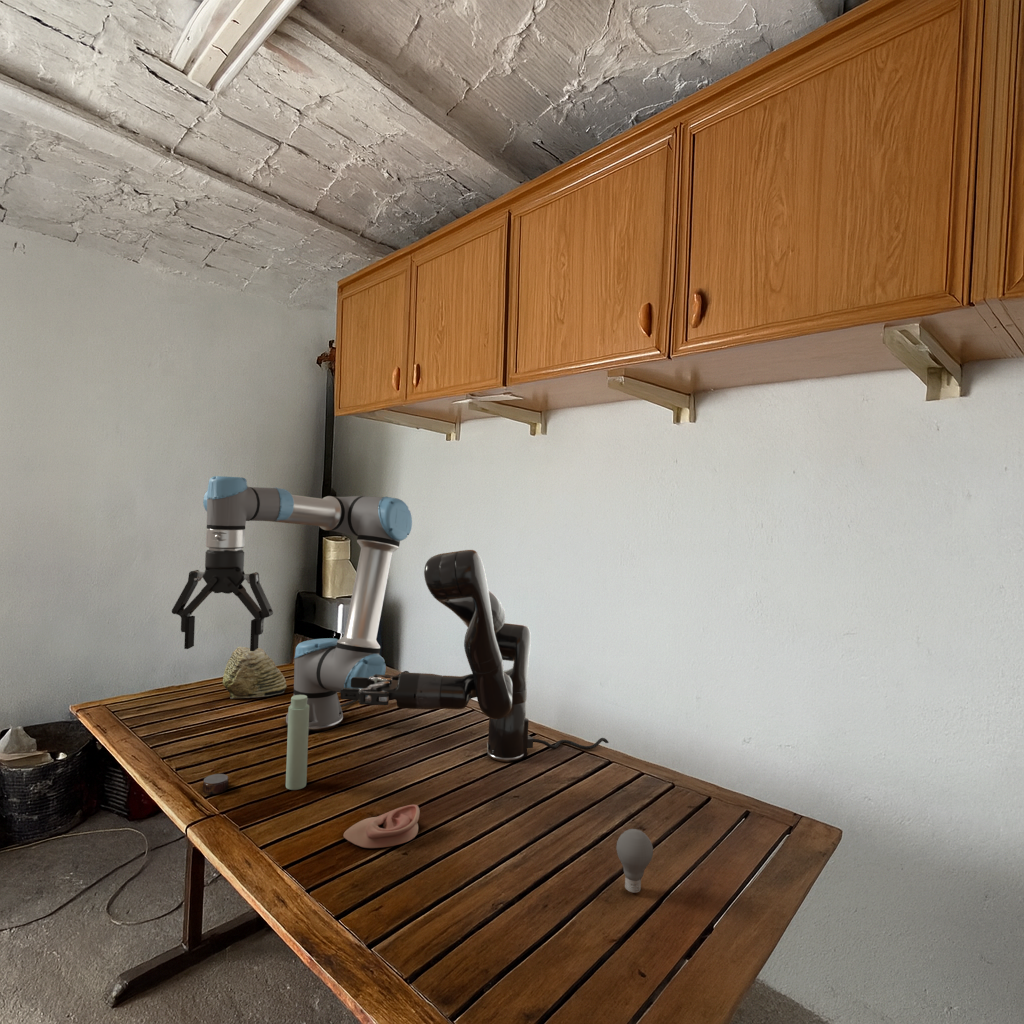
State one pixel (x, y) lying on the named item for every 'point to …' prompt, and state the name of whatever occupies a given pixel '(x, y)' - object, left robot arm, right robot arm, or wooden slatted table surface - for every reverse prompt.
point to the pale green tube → (297, 743)
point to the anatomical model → (385, 828)
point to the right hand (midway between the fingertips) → (346, 687)
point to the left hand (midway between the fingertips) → (221, 648)
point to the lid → (215, 784)
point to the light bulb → (634, 857)
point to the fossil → (252, 674)
